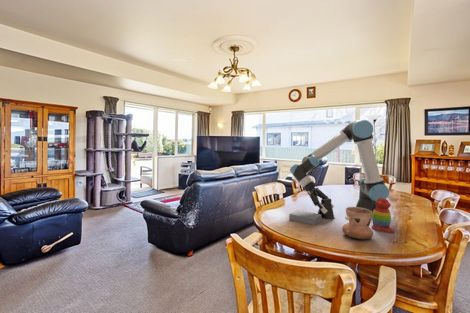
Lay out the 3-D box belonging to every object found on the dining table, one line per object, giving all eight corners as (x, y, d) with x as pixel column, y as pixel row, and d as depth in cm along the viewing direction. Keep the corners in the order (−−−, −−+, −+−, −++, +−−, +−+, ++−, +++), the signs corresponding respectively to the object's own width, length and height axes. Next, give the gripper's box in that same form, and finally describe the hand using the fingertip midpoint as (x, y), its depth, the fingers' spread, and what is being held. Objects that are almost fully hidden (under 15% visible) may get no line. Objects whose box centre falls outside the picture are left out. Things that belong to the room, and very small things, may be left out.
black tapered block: (334, 218, 162) (335, 200, 161) (327, 219, 160) (328, 200, 159) (324, 214, 170) (324, 196, 169) (317, 215, 168) (317, 197, 167)
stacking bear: (395, 233, 138) (397, 201, 136) (374, 231, 140) (376, 200, 138) (387, 226, 148) (389, 196, 147) (368, 225, 150) (370, 195, 149)
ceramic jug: (356, 244, 123) (358, 215, 122) (334, 233, 136) (335, 207, 135) (382, 239, 130) (384, 212, 129) (358, 229, 143) (360, 204, 142)
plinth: (321, 220, 159) (321, 214, 158) (314, 225, 149) (314, 219, 149) (297, 214, 168) (297, 209, 168) (289, 219, 159) (289, 213, 159)
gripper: (310, 185, 183) (331, 209, 175) (295, 190, 163) (318, 218, 155) (318, 178, 179) (339, 203, 171) (304, 183, 160) (327, 211, 151)
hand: (329, 210), depth 163 cm, fingers open, 13 cm apart
